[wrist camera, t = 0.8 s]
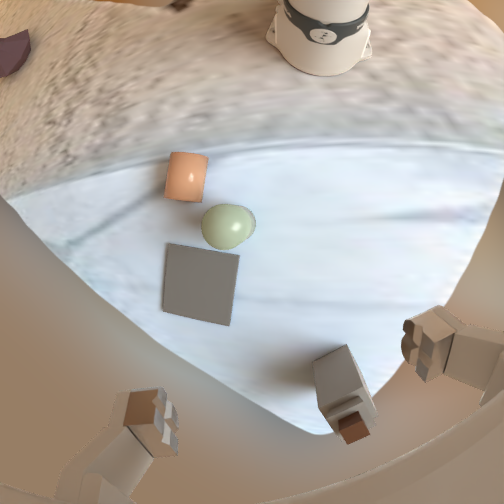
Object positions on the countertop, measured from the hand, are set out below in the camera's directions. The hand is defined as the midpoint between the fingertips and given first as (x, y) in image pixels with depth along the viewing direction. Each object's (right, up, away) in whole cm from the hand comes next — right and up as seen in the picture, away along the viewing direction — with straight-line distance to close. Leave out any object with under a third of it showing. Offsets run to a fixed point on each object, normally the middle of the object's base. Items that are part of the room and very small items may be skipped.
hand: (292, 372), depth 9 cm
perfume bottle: (+14, -17, +40) cm, 45 cm away
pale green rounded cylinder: (-3, +8, +38) cm, 39 cm away
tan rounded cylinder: (-11, +16, +38) cm, 43 cm away
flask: (-67, +59, +39) cm, 98 cm away
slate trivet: (-10, -2, +40) cm, 41 cm away
